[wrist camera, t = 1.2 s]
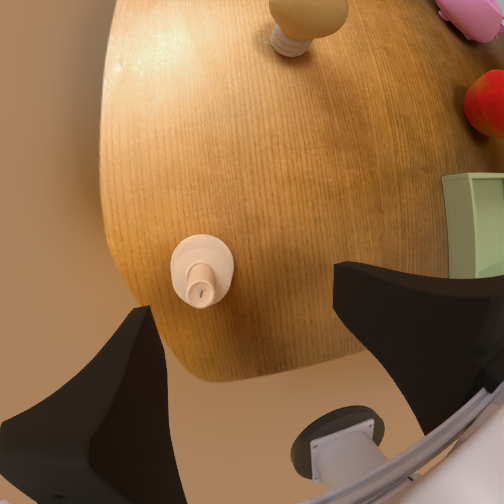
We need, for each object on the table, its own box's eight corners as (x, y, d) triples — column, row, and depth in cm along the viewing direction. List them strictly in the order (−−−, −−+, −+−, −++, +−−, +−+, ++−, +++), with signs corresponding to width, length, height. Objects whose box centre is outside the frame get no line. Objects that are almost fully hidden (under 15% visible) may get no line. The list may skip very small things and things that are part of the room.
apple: (492, 146, 28) (551, 136, 16) (463, 145, 27) (533, 131, 15) (474, 89, 27) (529, 69, 15) (442, 81, 26) (504, 52, 14)
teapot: (409, 3, 24) (453, -34, 12) (402, -33, 23) (434, -65, 11) (489, 68, 28) (534, 50, 16) (477, 23, 27) (512, 4, 15)
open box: (505, 260, 30) (526, 264, 26) (448, 286, 28) (474, 294, 24) (500, 175, 29) (521, 173, 24) (440, 176, 27) (468, 172, 22)
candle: (225, 227, 23) (241, 230, 13) (239, 288, 24) (265, 333, 14) (164, 242, 23) (133, 256, 12) (180, 302, 23) (164, 357, 13)
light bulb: (314, 30, 23) (352, -27, 13) (319, 75, 23) (368, 20, 13) (255, 20, 22) (277, -46, 12) (254, 66, 22) (281, -2, 12)
